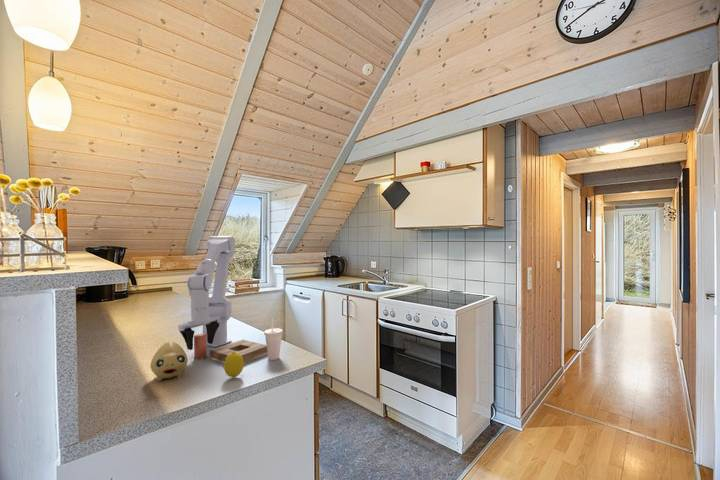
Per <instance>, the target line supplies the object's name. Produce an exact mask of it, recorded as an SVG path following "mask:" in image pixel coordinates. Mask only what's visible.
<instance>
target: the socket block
mask: <svg viewBox="0 0 720 480" xmlns="http://www.w3.org/2000/svg"><path fill="white" fill-rule="evenodd" d="M232 352H236V353H239V354H240V355H241V356H242V358H243V362H244V364H246V363H249V362H251V361H253V360H254V361H255V360H256V359H259V358H261V357H263V356H266V355H268V352H267V345H266V344H262V343H259V342H255V341H251V340H247V339H241V340H237V341H234V342H230V343H227V344H224V345H220V346H217V347H214V348H212V349H210V350H209V359H210V360H212V361H216V362H219V363H223V364H224V362H225V359H226V357H227V356H228V355H229V354H231V353H232Z"/></svg>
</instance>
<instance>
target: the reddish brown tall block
mask: <svg viewBox="0 0 720 480" xmlns="http://www.w3.org/2000/svg"><path fill="white" fill-rule="evenodd" d="M207 346H208V345H207V335H206V334H203V333H196V334H194V336H193V351H194V352H193V358H194V360H197V361H200V360H204V359H206V358H207V357H208V355H207V353H208V352H207V351H208V349H207Z"/></svg>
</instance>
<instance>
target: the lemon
mask: <svg viewBox="0 0 720 480" xmlns="http://www.w3.org/2000/svg"><path fill="white" fill-rule="evenodd" d="M244 364H245V363H244V362H243V358H242V356H241V355H240V354H239V353H236V352H232V353H231V354H229V355H228V356H227V357H226V359H225V362H224V363H223V368H224V373H225V375H226V376H228V377H230V378H232V379H236V378H237V377H238V376H239V375H241V373H243V369H244V367H245V366H244Z"/></svg>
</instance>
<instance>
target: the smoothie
mask: <svg viewBox="0 0 720 480" xmlns="http://www.w3.org/2000/svg"><path fill="white" fill-rule="evenodd" d="M283 333H284V331H283V329H282V328H274V318H271V328H270V329H269V328H268V329H266V330H264V333H263V335H264V336H265V342H266V344H265V345H267V352H268V354H267V359H268V360H270V361H276V360H279V358H280V353H281V344H282V338H283V337H282V334H283Z"/></svg>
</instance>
